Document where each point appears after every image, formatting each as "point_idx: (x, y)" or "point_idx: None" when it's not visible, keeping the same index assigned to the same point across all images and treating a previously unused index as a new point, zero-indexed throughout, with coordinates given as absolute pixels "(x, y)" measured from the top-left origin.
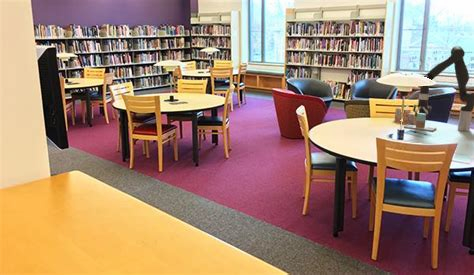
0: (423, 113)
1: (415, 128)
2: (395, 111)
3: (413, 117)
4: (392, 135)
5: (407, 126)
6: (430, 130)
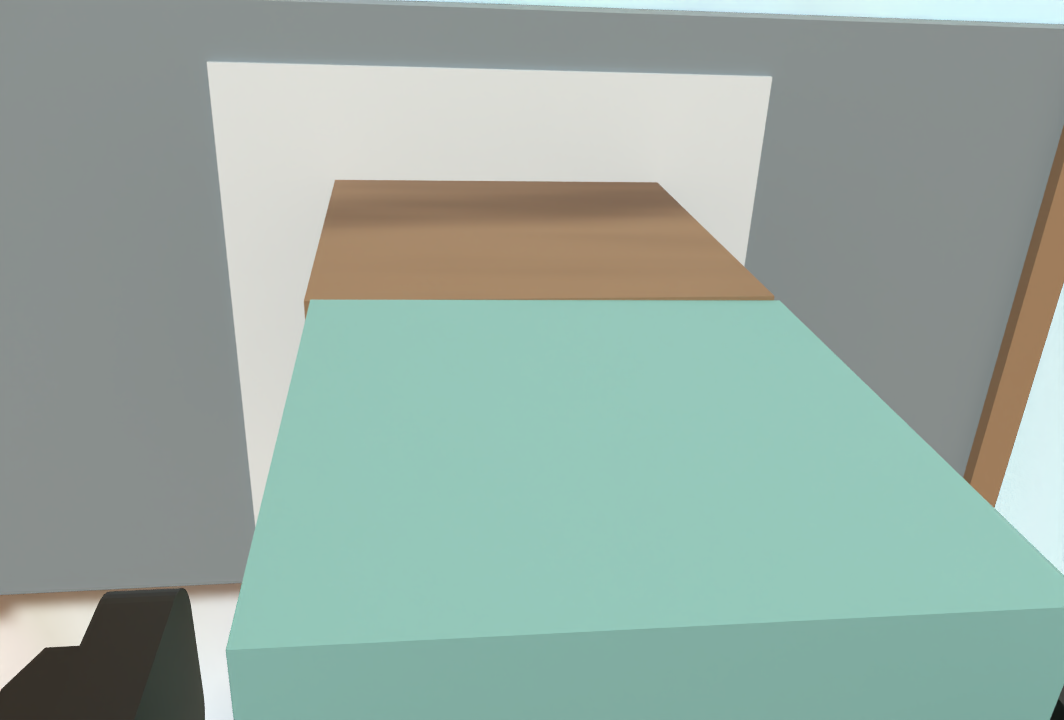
0: (775, 651)
1: None
2: None
3: None
4: None
5: (14, 497)
6: None
